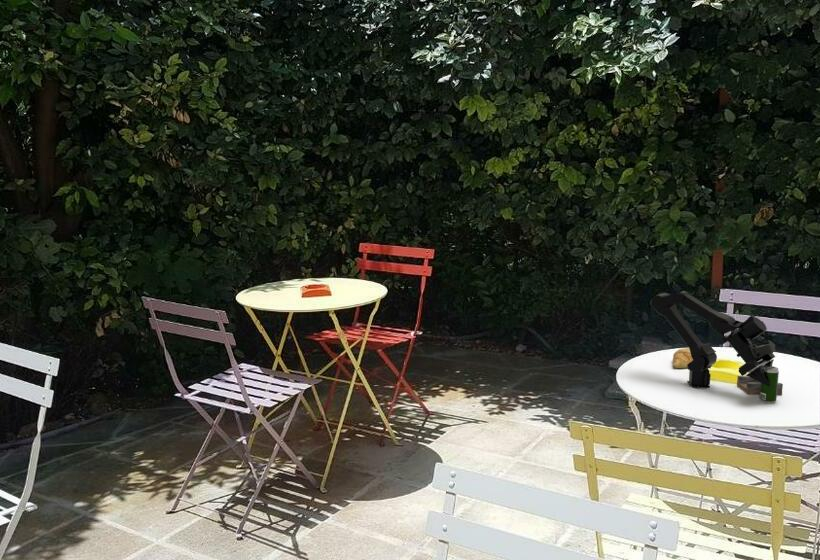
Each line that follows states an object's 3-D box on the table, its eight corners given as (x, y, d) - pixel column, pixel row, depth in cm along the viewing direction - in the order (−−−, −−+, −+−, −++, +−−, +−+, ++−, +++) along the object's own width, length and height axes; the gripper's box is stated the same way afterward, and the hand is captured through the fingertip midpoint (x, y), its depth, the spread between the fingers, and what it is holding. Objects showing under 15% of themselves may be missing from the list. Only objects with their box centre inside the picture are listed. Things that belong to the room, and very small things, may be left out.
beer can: (770, 404, 249) (773, 371, 247) (755, 400, 254) (758, 367, 252) (779, 401, 252) (782, 368, 250) (764, 397, 257) (767, 364, 255)
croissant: (681, 379, 290) (691, 364, 286) (660, 363, 295) (670, 348, 291) (701, 367, 305) (711, 352, 301) (681, 352, 310) (690, 338, 306)
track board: (747, 394, 260) (748, 383, 259) (736, 385, 270) (737, 375, 269) (781, 395, 259) (782, 384, 259) (769, 386, 269) (770, 376, 269)
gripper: (750, 338, 245) (782, 376, 239) (771, 329, 258) (802, 365, 252) (725, 356, 252) (755, 394, 246) (747, 347, 265) (776, 382, 259)
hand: (773, 383), depth 251 cm, fingers open, 6 cm apart
